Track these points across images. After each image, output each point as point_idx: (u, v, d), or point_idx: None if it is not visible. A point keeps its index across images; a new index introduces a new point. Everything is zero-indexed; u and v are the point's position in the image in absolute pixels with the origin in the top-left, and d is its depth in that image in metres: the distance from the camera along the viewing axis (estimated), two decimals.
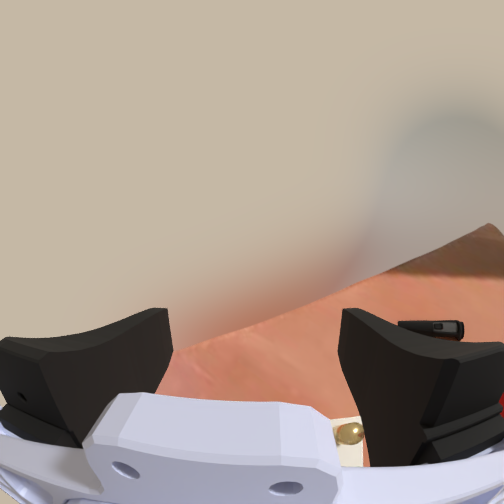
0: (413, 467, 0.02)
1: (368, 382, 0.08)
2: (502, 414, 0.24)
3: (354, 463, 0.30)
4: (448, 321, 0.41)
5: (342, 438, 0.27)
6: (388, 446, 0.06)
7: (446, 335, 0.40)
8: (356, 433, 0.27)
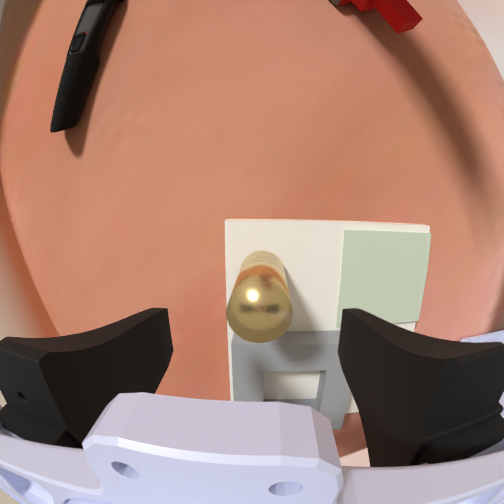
0: (413, 467, 0.02)
1: (368, 382, 0.08)
2: None
3: (335, 240, 0.19)
4: (79, 22, 0.15)
5: (268, 339, 0.13)
6: (388, 445, 0.06)
7: (101, 23, 0.15)
8: (260, 304, 0.13)
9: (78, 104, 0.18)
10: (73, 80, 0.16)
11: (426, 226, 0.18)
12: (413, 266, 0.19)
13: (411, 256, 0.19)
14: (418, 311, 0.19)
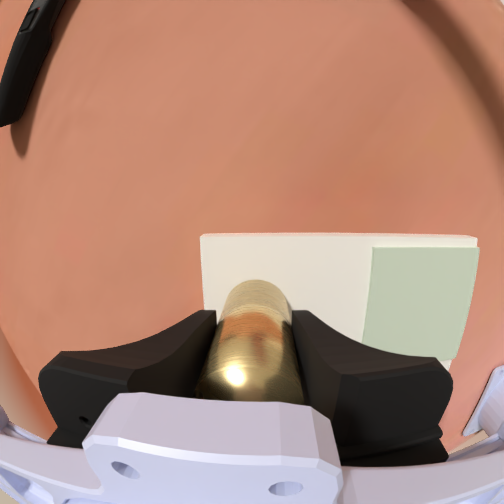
0: (413, 467, 0.02)
1: (305, 388, 0.08)
2: None
3: (360, 262, 0.13)
4: None
5: None
6: None
7: None
8: (248, 399, 0.07)
9: (22, 93, 0.11)
10: (17, 64, 0.10)
11: (473, 238, 0.12)
12: (457, 292, 0.13)
13: (456, 279, 0.13)
14: (457, 346, 0.13)
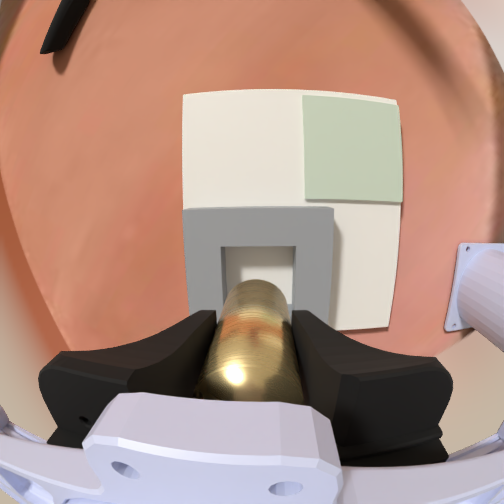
0: (413, 467, 0.02)
1: (304, 388, 0.08)
2: None
3: (293, 105, 0.17)
4: None
5: None
6: None
7: None
8: (248, 398, 0.07)
9: (67, 32, 0.16)
10: (65, 13, 0.14)
11: (392, 100, 0.17)
12: (384, 135, 0.17)
13: (380, 125, 0.17)
14: (400, 189, 0.18)
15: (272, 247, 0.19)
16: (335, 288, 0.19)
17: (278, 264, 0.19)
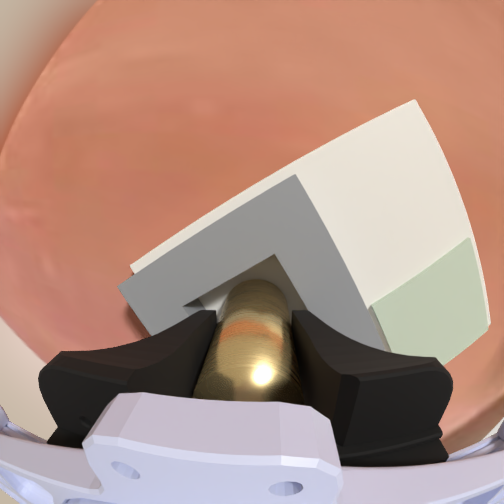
0: (413, 467, 0.02)
1: (305, 388, 0.08)
2: None
3: (456, 234, 0.13)
4: None
5: None
6: None
7: None
8: (248, 398, 0.07)
9: None
10: None
11: (489, 320, 0.14)
12: (460, 336, 0.14)
13: (467, 327, 0.13)
14: None
15: (297, 303, 0.14)
16: None
17: None
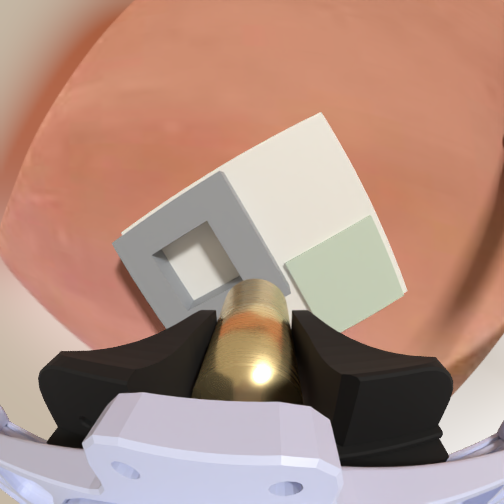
0: (413, 467, 0.02)
1: (305, 388, 0.08)
2: None
3: (357, 212, 0.19)
4: None
5: None
6: None
7: None
8: (247, 397, 0.07)
9: None
10: None
11: (405, 288, 0.20)
12: (372, 297, 0.20)
13: (378, 289, 0.20)
14: None
15: (230, 259, 0.20)
16: None
17: (219, 271, 0.21)
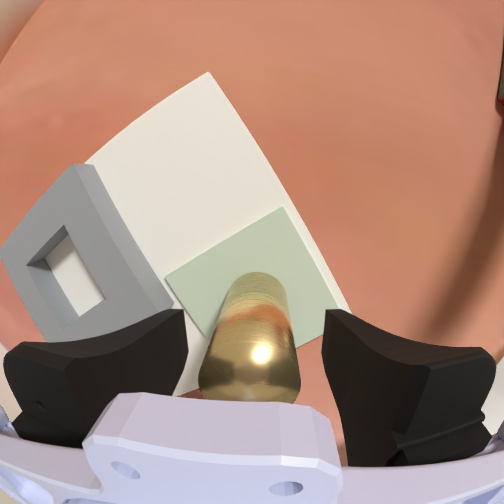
0: (413, 467, 0.02)
1: (347, 384, 0.08)
2: None
3: (263, 202, 0.14)
4: None
5: None
6: (363, 450, 0.06)
7: None
8: (249, 373, 0.08)
9: None
10: None
11: (349, 310, 0.15)
12: (294, 324, 0.15)
13: (304, 314, 0.15)
14: None
15: None
16: None
17: (96, 284, 0.15)
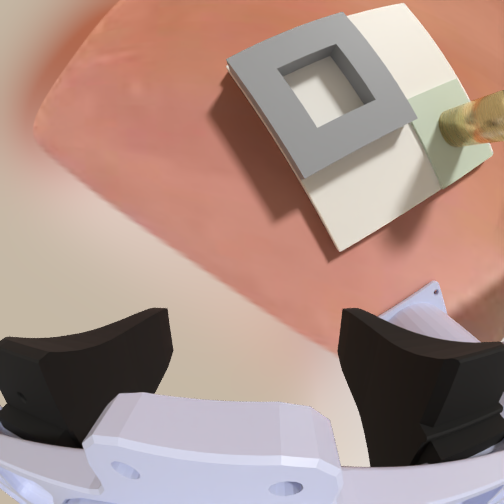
0: (413, 467, 0.02)
1: (368, 382, 0.08)
2: None
3: (446, 75, 0.15)
4: None
5: None
6: (388, 445, 0.06)
7: None
8: None
9: None
10: None
11: (491, 150, 0.16)
12: (471, 150, 0.16)
13: None
14: (449, 182, 0.17)
15: (349, 93, 0.17)
16: (349, 167, 0.18)
17: (339, 104, 0.17)
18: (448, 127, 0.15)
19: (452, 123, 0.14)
